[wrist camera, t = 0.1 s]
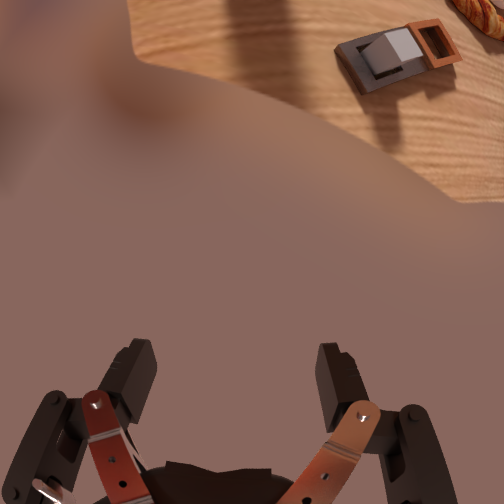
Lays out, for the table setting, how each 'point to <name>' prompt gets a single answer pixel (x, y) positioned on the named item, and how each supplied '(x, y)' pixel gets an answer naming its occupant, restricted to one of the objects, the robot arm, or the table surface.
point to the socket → (421, 64)
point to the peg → (390, 51)
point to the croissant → (482, 16)
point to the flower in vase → (498, 3)
